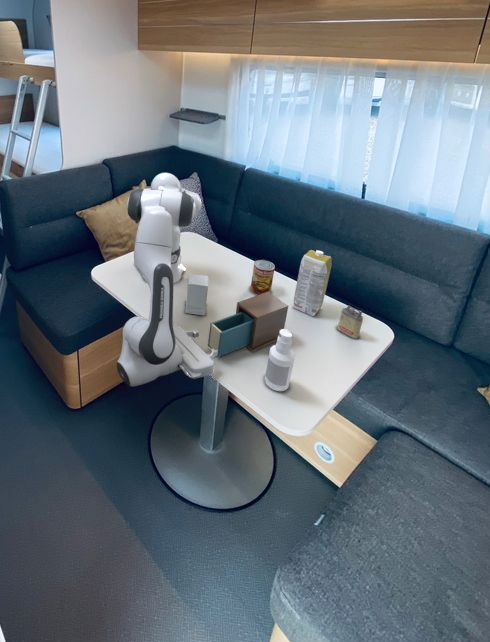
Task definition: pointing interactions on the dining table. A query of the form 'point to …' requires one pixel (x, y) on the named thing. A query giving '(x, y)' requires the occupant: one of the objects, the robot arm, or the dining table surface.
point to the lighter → (350, 322)
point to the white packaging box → (197, 294)
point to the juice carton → (312, 282)
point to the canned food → (262, 277)
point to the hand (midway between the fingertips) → (206, 341)
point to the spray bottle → (280, 362)
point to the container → (230, 333)
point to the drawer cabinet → (264, 318)
